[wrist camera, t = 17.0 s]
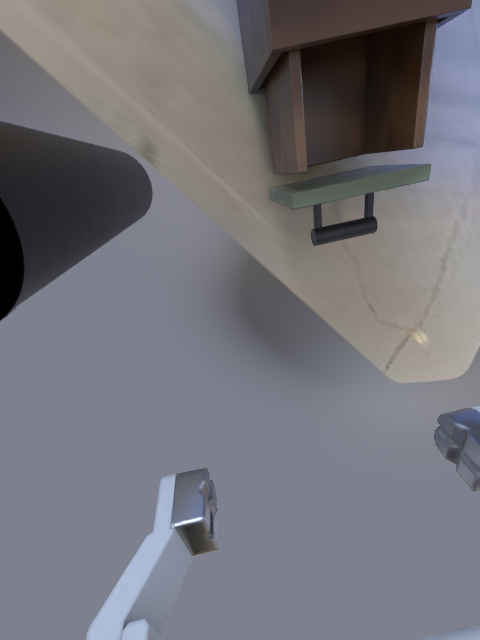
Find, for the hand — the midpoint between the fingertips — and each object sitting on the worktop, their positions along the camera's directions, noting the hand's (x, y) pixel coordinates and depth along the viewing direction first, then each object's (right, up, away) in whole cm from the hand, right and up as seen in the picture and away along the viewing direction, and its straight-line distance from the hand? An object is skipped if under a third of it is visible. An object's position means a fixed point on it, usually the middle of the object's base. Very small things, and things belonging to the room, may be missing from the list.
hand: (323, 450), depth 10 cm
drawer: (+5, +23, +18) cm, 30 cm away
